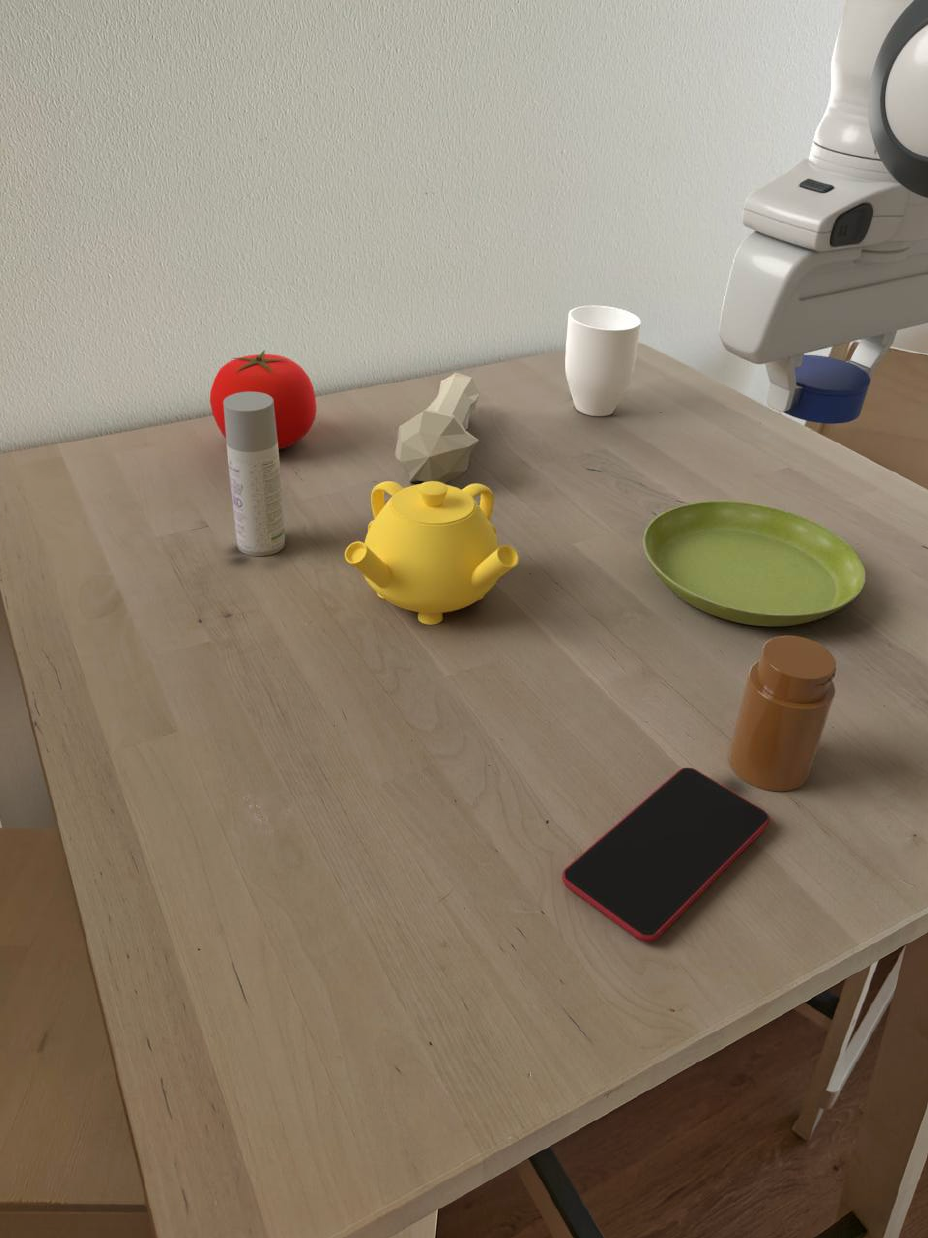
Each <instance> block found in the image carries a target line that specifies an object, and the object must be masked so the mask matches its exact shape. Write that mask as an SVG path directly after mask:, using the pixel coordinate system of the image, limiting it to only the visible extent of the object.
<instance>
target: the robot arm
mask: <svg viewBox="0 0 928 1238" xmlns="http://www.w3.org/2000/svg"><path fill="white" fill-rule="evenodd" d="M830 78H831V82H830V83H831V84H830V85H831V87H830V95H829V98H828V99H829V100H828V102H827V107H826V109H825V112H824V114H823V116H822V118H821V120H820V122H819V124H818V125H817V127H816V130H815V132H814V136H813V139H812V144H811V149H810V153H809V156H808V158H803V159H801V160H800V161H798V162H797V163H796V164H795V165H793V166H792V167H791V168H790V169H788V170H787V171H785V172H784V173H782V174H781V175H779V176H777V177H775V178H774V179H772V180H771V181H769V182H767V183H765V184H763V185H762V186H759V187H758V188H756V189H755V190H753V191H752V192H751V193H749V194H748V196H747V197H746V199H745V201H744V205H743V209H742V216H741V218H742V219H741V222H742V225H743V226H744V227H746V228H748V229H751V230H753V231H752V232H750V233H748V235H747V236H746V237H745V238H743V240H742V241H741V243H740V245H739V246H738V248H737V251H736V252H735V255H734V257H733V261H732V263H731V267H730V271H729V276H728V279H727V284H726V288H725V292H724V293H725V294H724V298H723V303H722V308H721V312H720V313H721V314H720V319H719V327H718V334H719V338H720V341H721V343H722V345H723V347H724V350H726V351H727V352H728V353H731V354H733V355H734V356H737V357H739V358H740V359H743V360H745V361H747V362H750V363H751V364H755V365H764V366H765V369H766V373H767V376H768V380H769V382H770V383H769V388H768V392H767V397H766V404H767V406H768V407H769V408H771V409H773V410H775V411H777V412H779V413H784V411H788V410H791V409H794V408H797V407H798V406H799V404H800V397H801V396H802V393H803V389H804V386H801V385H799V384H796V376H795V367H796V368H797V367H800V366H801V364H802V360H803V356H804V355H806V354H808V353H812V352H816V351H820V350H824V349H829V348H832V347H836V346H841V345H844V344H848V343H853V342H856V341H857V342H858V341H859V342H858V344H857V346H856V348H855V350H854V352H853V354H852V356H851V358H850V359H849V360H847V361H846V362H849V363H851V364H853V365H856V366H857V367H859V368H861V369H863V370H864V371H865V372H866V373H867V374H868V375H869V377H870V384H869V386H871V382H872V380H873V376H874V372H875V369H876V368H877V367H878V366H879V364H880V362H881V361H882V360H883V358H884V357H885V356H886V354H887V353H888V351H889V350H890V349H891V347H892V346H893V344H894V343H895V342H894V341H895V339H896V335H897V332H898V331H901V330H905V329H908V328H912V327H917V326H921V325H924V324H928V0H846V1H845V5H844V9H843V13H842V17H841V20H840V23H839V29H838V31H837V36H836V40H835V44H834V49H833V52H832V57H831V63H830Z"/></svg>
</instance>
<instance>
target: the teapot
mask: <svg viewBox="0 0 928 1238" xmlns="http://www.w3.org/2000/svg"><path fill="white" fill-rule="evenodd" d="M385 492H386V493H387V494H389V495H390V496H391V497H390V498H389V499H388V500H387V502H386V501H385ZM479 495H480V500H479V503H477V501H476V499H474V498H476V497H477V496H479ZM370 504H371V510H372V515H373V519H372V520H371V521H370V522H369V523H368V526H367V534H366V535H365V539H364V542H363V541H360V540H357V541H354V542H351V543H350V544H349V545H348V546H347V547H346V548H345V551H344V559H345V561H346V562H347V563H349V565H351V566H352V567H353V568H355V569H356V570H357V571H358V572H359V573H361V574H362V575H363V577H364V579H365V581H366V582H367V584H368V585H369V586H370V587H371V588H372V590H374V592H376V595H377V596H378V597H379V598H381V599H383V600H386V601H387V602H389V603H390V604H392V605H394V606H396V607H398V608H401V609H404V610H407V611H411V612H416V613H417V620H418V621H419V622H420V623H422V624H423V625H429V626H432V625H437V624H439V623H441V622H442V621H443V613H449V612H454V611H459V610H461V609H464V608H466V607H468V606H470V605H472V604H474V603H475V602H478V601H480V600H482V599H483V598H484V597H485V595H486V594H487V593H489V592H490V590H492V589H493V588H494V587H495V585H496V584H497V581H498V580H499V578H501V577H502V576H504V575H505V574H506V573H508V572H509V571H510V570H512V569H513V568H515V567H516V566H517V565H518V563H519V561H520V560H519V559H520V558H519V553H518V552H517V550H516V549H515V548H514V547H513V546H511V545H509V544H502V545H500V546H499V541H498V538H497V530H496V527H495V525H494V524H493V523H492V522H490V521H491V519H492V514H493V511H494V505H495V496H494V493H493V491H492V490H491V488H489V487H488V486H486V485H485V484H482V483H471V484H467V486H465V487H464V488H462V489H461V488H459V487H456V486H453V485H449V484H446V483H445V484H444V483H441V482H437V481H428V482H424V481H423V482H422V483H418V484H413V485H410V486H407V487H403V486H402V485H400V484H399V483H398V482H395V481H391V480H386V481H382V482H380V483H378V484H377V485H375V486H374V487H373V489H372V490H371V493H370Z"/></svg>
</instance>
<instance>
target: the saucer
mask: <svg viewBox="0 0 928 1238" xmlns="http://www.w3.org/2000/svg"><path fill="white" fill-rule="evenodd" d="M642 544H643V550H644V553H645V555H646V558H647V560H648V562H649V564H650V566H651V567H652V569H653V571H654V573H656V575H657V576H658V578H659V579H660V580H661V581H662V583H664V585H666V586H667V588H668V589H670V591H672V592H673V593H674V594H675V595H677V597H679V598H680V599H681V600H683V601H684V602H686V603H688V604H689V605H691V606H692V607H694V608H696V609H699V610H701V611H702V612H705V613H707V614H709V615H712V616H714V617H718V618H720V619H723V620H726V621H731V622H734V623H738V624H744V625H750V626H756V627H790V626H798V625H802V624H806V623H811V622H813V621H817V620H819V619H823V618H825V617H827V616H830V615H832V614H834V613H835V612H837V611H839V610H841V609H843V608H844V607H845V606H847V605H848V604H850V603H851V602H852V601H853V600H854V599H855V598H856V597H857V596H859V594H860V593H861V592H862V590H863V588H864V585H865V583H866V569H865V565H864V564H863V561H862V560H861V557H860V556H859V555H858V554H857V552H856V551H855V550H854V548H853V547H852V546H851V545H849V543H848V542H847V541H846V540H844V539H843V538H842V537H840V536H839V535H838V534H836V533H835V532H833V531H832V530H830V529H829V528H827V527H825V526H823V525H822V524H820V523H817V522H815V521H813V520H811V519H809V518H807V517H804V516H802V515H799V514H796V513H793V512H790V511H786V510H783V509H780V508H776V507H772V506H768V505H763V504H759V503H758V504H757V503H752V502H744V501H736V500H735V501H733V500H732V501H731V500H708V501H699V502H691V503H687V504H686V503H685V504H682V505H679V506H675V507H672V508H669V509H667V510H665V511H663V512H661V513H660V514H659V515H657V516H656V517H654V518H653V519H652V520H651V521H650V522H649V523H648V525H647V526H646V528H645V530H644V532H643V538H642Z"/></svg>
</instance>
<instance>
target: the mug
mask: <svg viewBox="0 0 928 1238" xmlns="http://www.w3.org/2000/svg"><path fill="white" fill-rule="evenodd" d="M567 315H568V318H567V329H566V331H567V332H566V342H565V343H566V344H565V356H564V357H565V359H564V360H565V361H564V364H565V365H564V370H565V376H566V377H565V378H566V380H567V384H568V389H569V391H570V394H571V397H572V401H573V404H574V407H575V409H576V410H577V411H578V412H580V413H581V414H584V415H587V416H592V417H606V416H610V415H612V414H613V413H614V412H615V410H616V408H617V407H618V405H619V403H620V402H621V400H622V398H623V397H624V395H625V393H626V391H627V390H628V388H629V387H630V385H631V382H632V380H633V378H634V377H633V376H634V372H635V367H636V360H637V353H638V346H639V339H640V338H639V337H640V330H641V318H639V317H638V316H637V315H636V314H634V313H633V312H630V311H628V310H625V309H621V308H618V307H614V306H607V305H582V306H577V307H575V308H573V309H571V310H569V312H568V314H567Z"/></svg>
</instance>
